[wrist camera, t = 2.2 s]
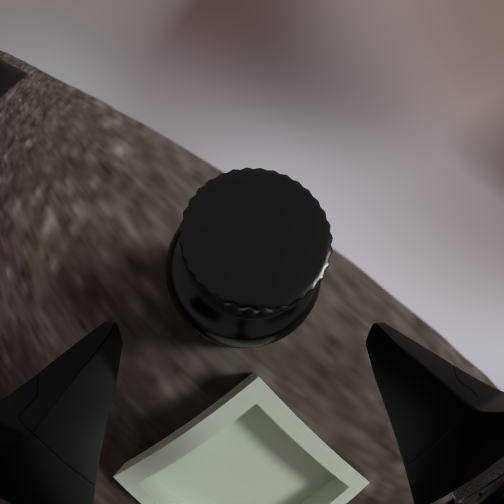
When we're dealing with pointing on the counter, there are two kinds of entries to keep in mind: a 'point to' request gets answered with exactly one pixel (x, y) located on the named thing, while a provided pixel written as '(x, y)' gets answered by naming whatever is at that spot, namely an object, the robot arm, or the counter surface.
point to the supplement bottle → (248, 258)
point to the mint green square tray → (241, 458)
